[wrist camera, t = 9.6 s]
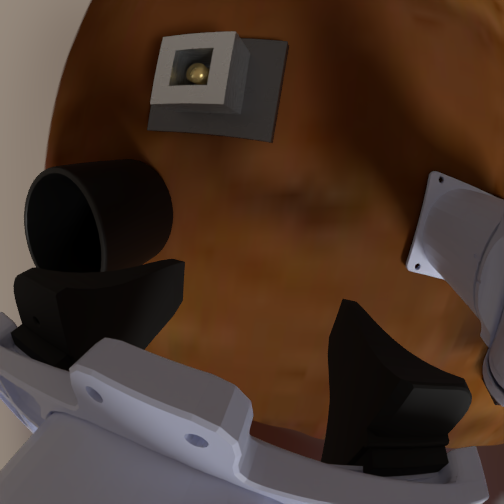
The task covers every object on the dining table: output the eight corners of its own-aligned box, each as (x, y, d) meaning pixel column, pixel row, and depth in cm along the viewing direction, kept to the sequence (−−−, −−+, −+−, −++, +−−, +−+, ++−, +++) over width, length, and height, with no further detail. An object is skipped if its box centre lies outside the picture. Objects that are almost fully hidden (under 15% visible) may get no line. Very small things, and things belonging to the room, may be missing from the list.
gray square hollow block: (250, 53, 16) (235, 31, 12) (240, 114, 18) (223, 104, 14) (187, 54, 17) (163, 37, 13) (177, 111, 19) (150, 104, 15)
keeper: (288, 46, 16) (282, 23, 13) (272, 142, 19) (263, 138, 15) (170, 45, 18) (145, 29, 14) (153, 130, 20) (125, 127, 17)
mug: (88, 142, 22) (15, 146, 14) (189, 178, 21) (117, 193, 13) (74, 227, 26) (10, 254, 17) (161, 276, 25) (100, 327, 16)
